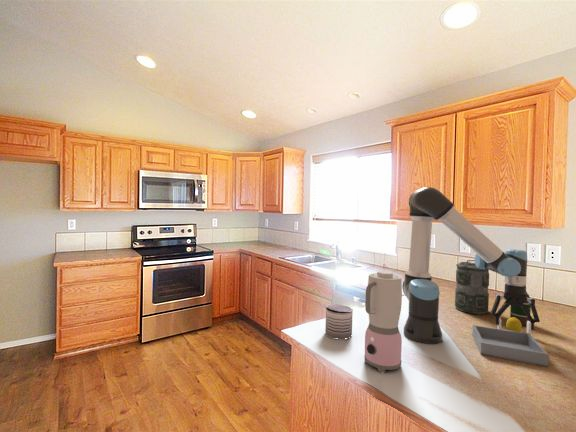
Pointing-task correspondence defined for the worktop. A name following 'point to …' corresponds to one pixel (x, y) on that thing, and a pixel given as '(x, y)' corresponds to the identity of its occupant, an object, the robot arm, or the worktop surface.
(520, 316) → the beer bottle
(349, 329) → the can
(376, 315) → the blender
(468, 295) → the canister
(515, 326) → the lemon
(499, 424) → the worktop surface
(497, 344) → the box
